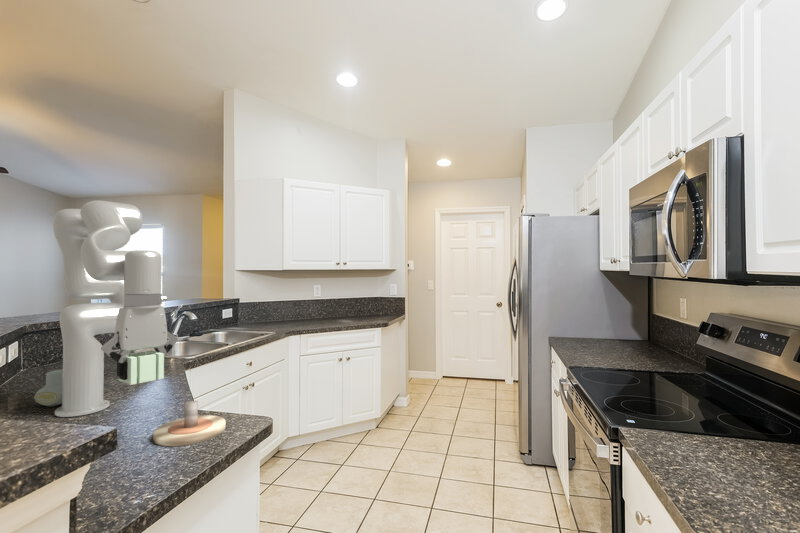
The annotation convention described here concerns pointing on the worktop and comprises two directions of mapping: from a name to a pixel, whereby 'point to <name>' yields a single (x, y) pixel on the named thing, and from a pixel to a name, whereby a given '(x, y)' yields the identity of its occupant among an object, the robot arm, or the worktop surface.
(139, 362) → the collar
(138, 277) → the robot arm
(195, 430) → the post base
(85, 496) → the worktop surface
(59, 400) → the air freshener
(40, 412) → the worktop surface
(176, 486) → the worktop surface
